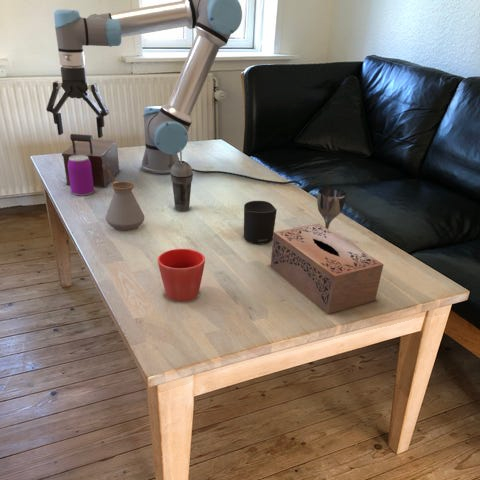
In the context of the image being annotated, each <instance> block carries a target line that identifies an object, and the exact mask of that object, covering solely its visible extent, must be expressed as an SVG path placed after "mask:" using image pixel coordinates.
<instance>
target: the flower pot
mask: <svg viewBox="0 0 480 480" xmlns="http://www.w3.org/2000/svg"><path fill="white" fill-rule="evenodd" d="M205 262H206V256H205V255H204V254H203V253H201V252H200V251H198V250H195V249H191V248H174V249H170V250H169V249H168V250H166V251H164V252H162V253H160V254H159V256H158V257H157V265H158V268H159V272H160V276H161V280H162V284H163V289H164V292H165V295H166V297H167V298H168V299H169V300H171V301H173V302H179V303H185V302H190V301H193V300H195V299H196V298H198V295H199V292H200V288H201V284H202V279H203V274H204V269H205V264H206V263H205Z"/></svg>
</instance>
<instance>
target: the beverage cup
mask: <svg viewBox="0 0 480 480" xmlns="http://www.w3.org/2000/svg"><path fill="white" fill-rule="evenodd" d="M182 151H183V150H182ZM182 151H181V148H180V152H179V160H180V161H178V162H176V163H175V164H174V165H173V166H172V168H171V173H170V174H169V175H170V180H171V183H172V193H173V199H174V200H173V201H174V202H173V203H174V207H175V208H174V209H175V211H178V212H187V211H189V210H190V205H191V193H192V192H191V191H192V181H193V176H194V171H192V169H193V168H192V166H191V164H190V163H189V162H187V161H185V160H183V155H182V154H183V153H182Z"/></svg>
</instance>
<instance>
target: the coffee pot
mask: <svg viewBox="0 0 480 480" xmlns="http://www.w3.org/2000/svg"><path fill="white" fill-rule="evenodd" d="M104 165H105V167H106V168H103V165H102V168H103V169H106V170H107V171H108V175H109V176H110V178H111V181H112V184H111V185H110V186H111V189H112V190H113V194H112V198H111V200H110V204H109V206H108V209H107V213H106V215H105V221H106V223H107V224H108V225H109V226H110V227H111V228H113V229H114V230H115V231H118V232H133V231H136V230H137V229H138V228H139V227H140V226H142V224H143V223H144V221H145V215H144V212H143V210H142V208H141V206H140V204H139V202H138V201H137V199H136V197H135V195H134V192H133V189H134V187H135V183H133V182H130V181H116V178H115V176H113V173H112V172H111V171H110V168H109V167H108V165H109V164H106V163H105V164H104Z"/></svg>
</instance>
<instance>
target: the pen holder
mask: <svg viewBox="0 0 480 480" xmlns="http://www.w3.org/2000/svg"><path fill="white" fill-rule="evenodd" d="M277 210H278V209H277V208H276V207H275V205H274V204H272V203H271V202H269V201H266V200H250V201H247V202H246V203H245V204H244V206H243V238H244V240H245V241H246V242H248V243H250V244H254V245H265V244H269V243H271V242H273V234H274V232H275V226H276V219H277Z"/></svg>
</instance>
